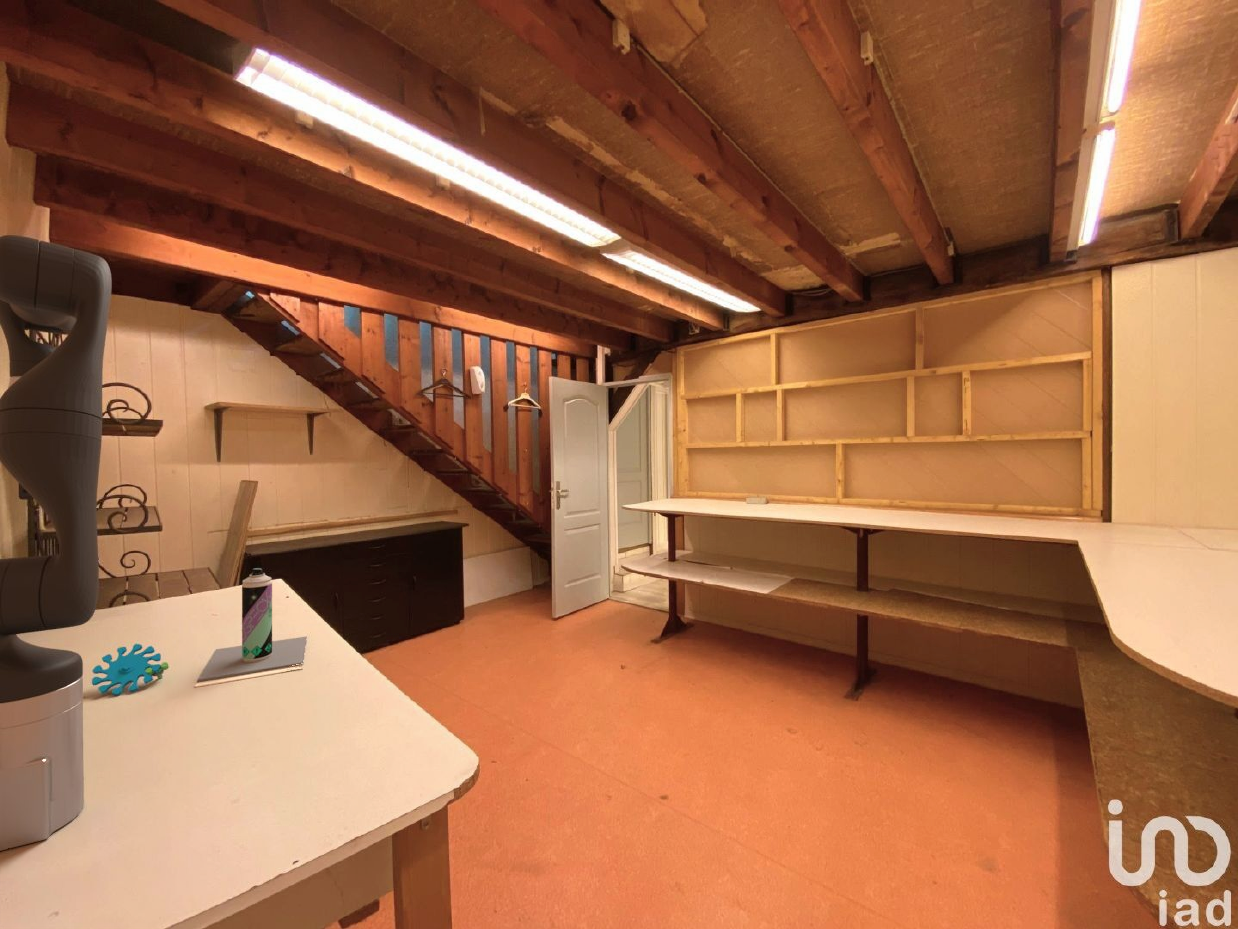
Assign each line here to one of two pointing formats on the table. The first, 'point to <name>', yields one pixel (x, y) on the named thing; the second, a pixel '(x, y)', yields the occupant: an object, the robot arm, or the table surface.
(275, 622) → the table surface
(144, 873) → the table surface
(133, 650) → the gear
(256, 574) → the spray can
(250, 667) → the gray flat panel
